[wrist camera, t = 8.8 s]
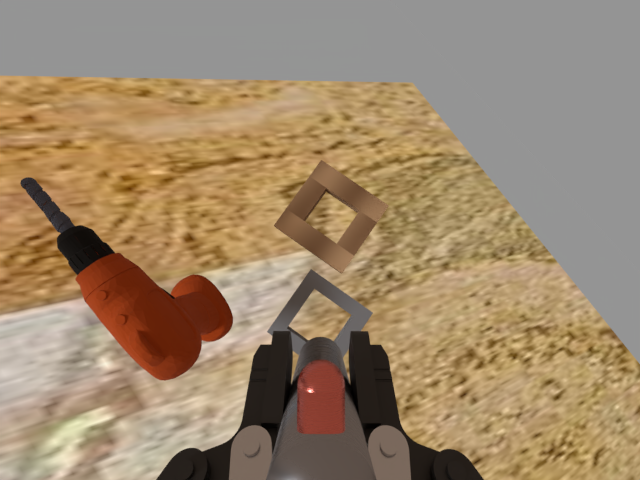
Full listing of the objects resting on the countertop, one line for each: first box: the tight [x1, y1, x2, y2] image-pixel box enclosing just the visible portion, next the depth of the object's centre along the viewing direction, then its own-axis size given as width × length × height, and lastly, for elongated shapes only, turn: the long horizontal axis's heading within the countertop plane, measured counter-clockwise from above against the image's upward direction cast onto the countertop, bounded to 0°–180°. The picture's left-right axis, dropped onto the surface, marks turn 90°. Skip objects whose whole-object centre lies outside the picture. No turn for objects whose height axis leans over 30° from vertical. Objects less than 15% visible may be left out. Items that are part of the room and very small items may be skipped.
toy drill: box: [20, 177, 233, 381], centre depth 28 cm, size 5×19×15 cm, turn 39°
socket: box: [267, 269, 373, 357], centre depth 34 cm, size 8×8×2 cm
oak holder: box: [274, 160, 389, 274], centre depth 35 cm, size 9×9×2 cm
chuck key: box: [266, 337, 377, 480], centre depth 13 cm, size 5×3×12 cm, turn 0°
